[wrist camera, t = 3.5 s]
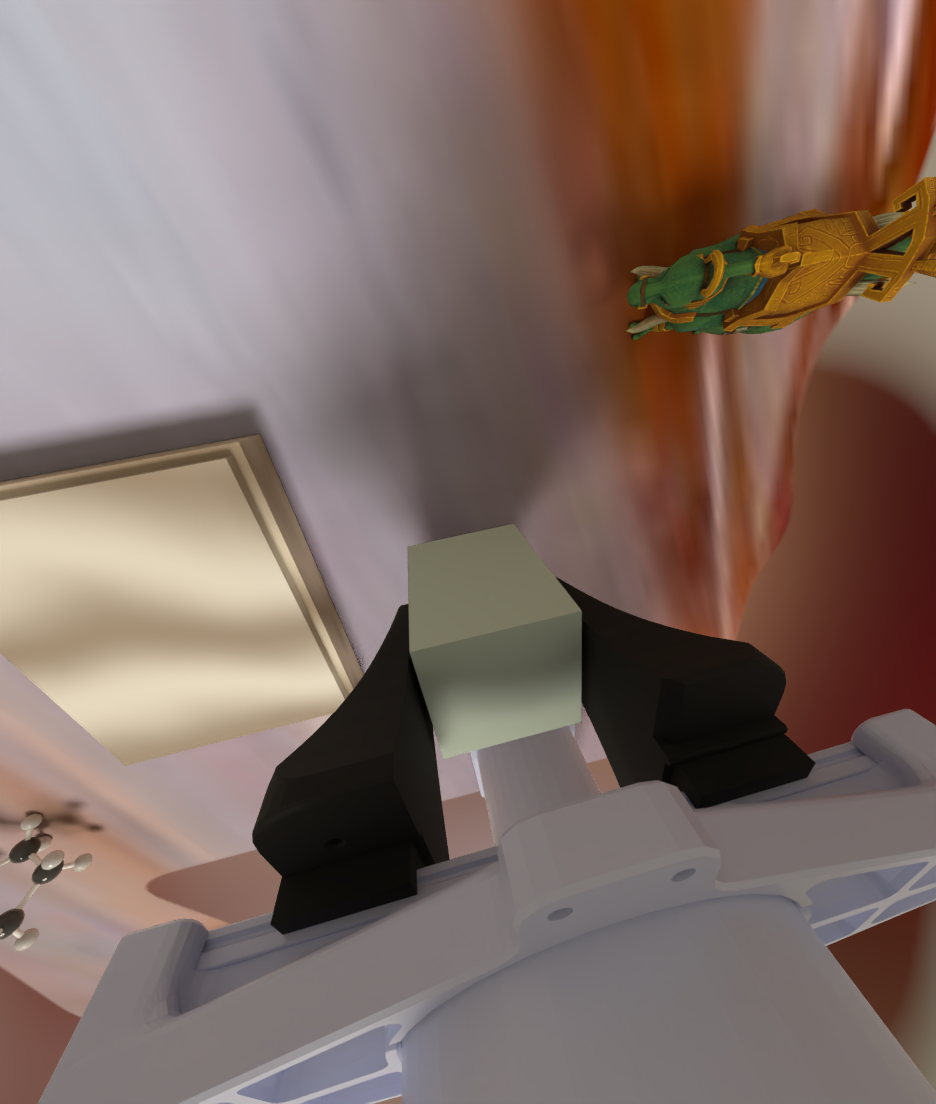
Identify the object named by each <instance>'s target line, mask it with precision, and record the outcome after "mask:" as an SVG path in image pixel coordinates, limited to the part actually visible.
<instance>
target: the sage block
mask: <svg viewBox="0 0 936 1104" xmlns="http://www.w3.org/2000/svg"><path fill="white" fill-rule="evenodd" d="M407 549H408V600H409V651H410V655H411V658H412V661H413V665H414V668H415V671H416V674H417V677H418V680H419V683H420V686H421V690H422V693H423V696H424V699H425V702H426V705H427V708H428V711H429V714H430V718H431V721H432V724H433V727H434V730H435V733H436V736H437V739H438V743H439V746H440V749H441V752H442V755H443V758H444V759H445V758H449V757H452V756H456V755H460V754H464V753H467V752H471V751H475V750H479V749H482V748H486V747H490V746H494V745H497V744H501V743H505V742H509V741H512V740H516V739H520V738H524V737H527V736H531V735H535V734H539V733H542V732H546V731H550V730H554V729H557V728H561V727H565V726H568V725H572V724H576V723H580V722H581V695H582V611H581V609H580V608H579V607H578V605H577V604H576V603H575V602H574V600H573V599H572V598H571V596H570V595H569V594H568V593H567V591H566V590H565V589H564V588H563V586H562V585H561V584H560V582H559V581H558V580H557V579H556V577H555V576H554V575H553V573H552V572H551V571H550V570H549V568H548V567H547V566H546V565H545V563H544V562H543V561H542V559H541V558H540V557H539V556H538V554H537V553H536V552H535V550H534V549H533V548H532V547H531V545H530V544H529V543H528V542H527V540H526V539H525V538H524V536H523V535H522V534H521V533H520V531H519V530H518V529H517V528H516V526H515V525H514V524H510V525H506V526H501V527H496V528H492V529H487V530H482V531H478V532H473V533H468V534H464V535H459V536H454V537H450V538H445V539H441V540H436V541H431V542H427V543H422V544H417V545H413V546H408V547H407Z"/></svg>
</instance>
